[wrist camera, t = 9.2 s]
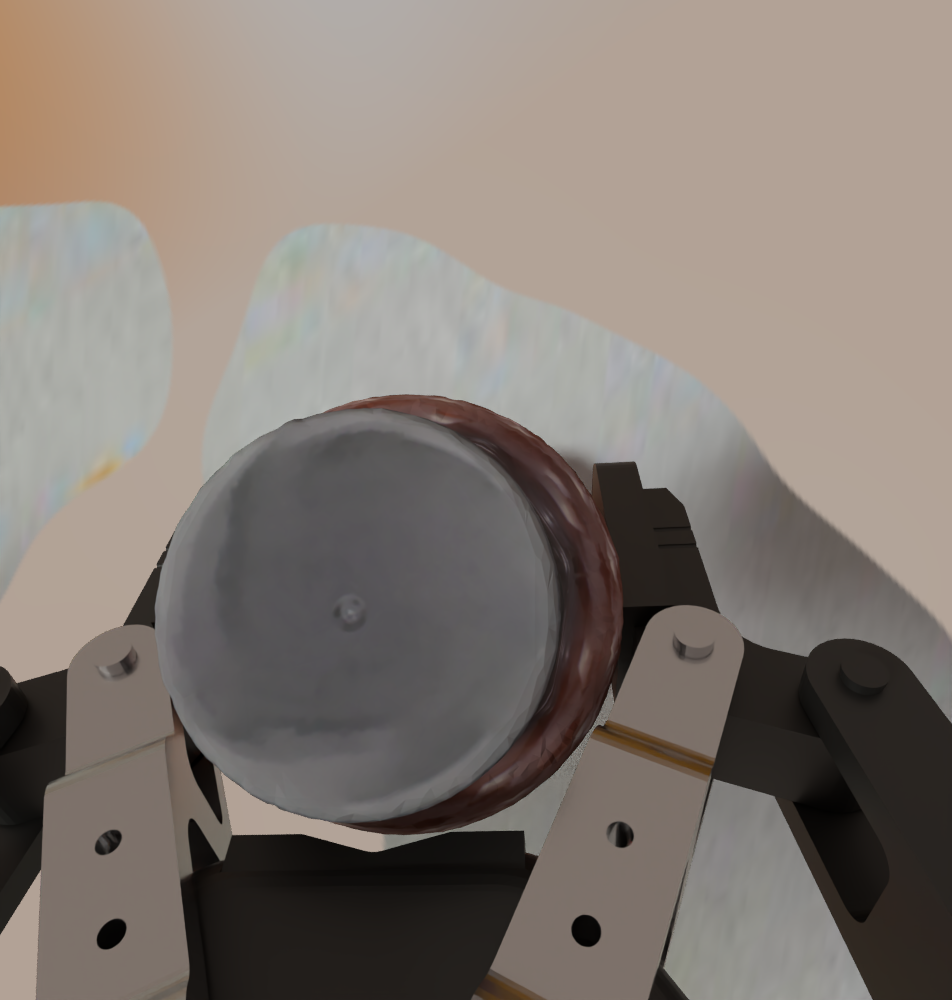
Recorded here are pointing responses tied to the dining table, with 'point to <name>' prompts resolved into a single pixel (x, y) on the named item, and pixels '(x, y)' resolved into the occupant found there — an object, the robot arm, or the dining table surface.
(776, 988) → the dining table surface
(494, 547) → the supplement bottle
